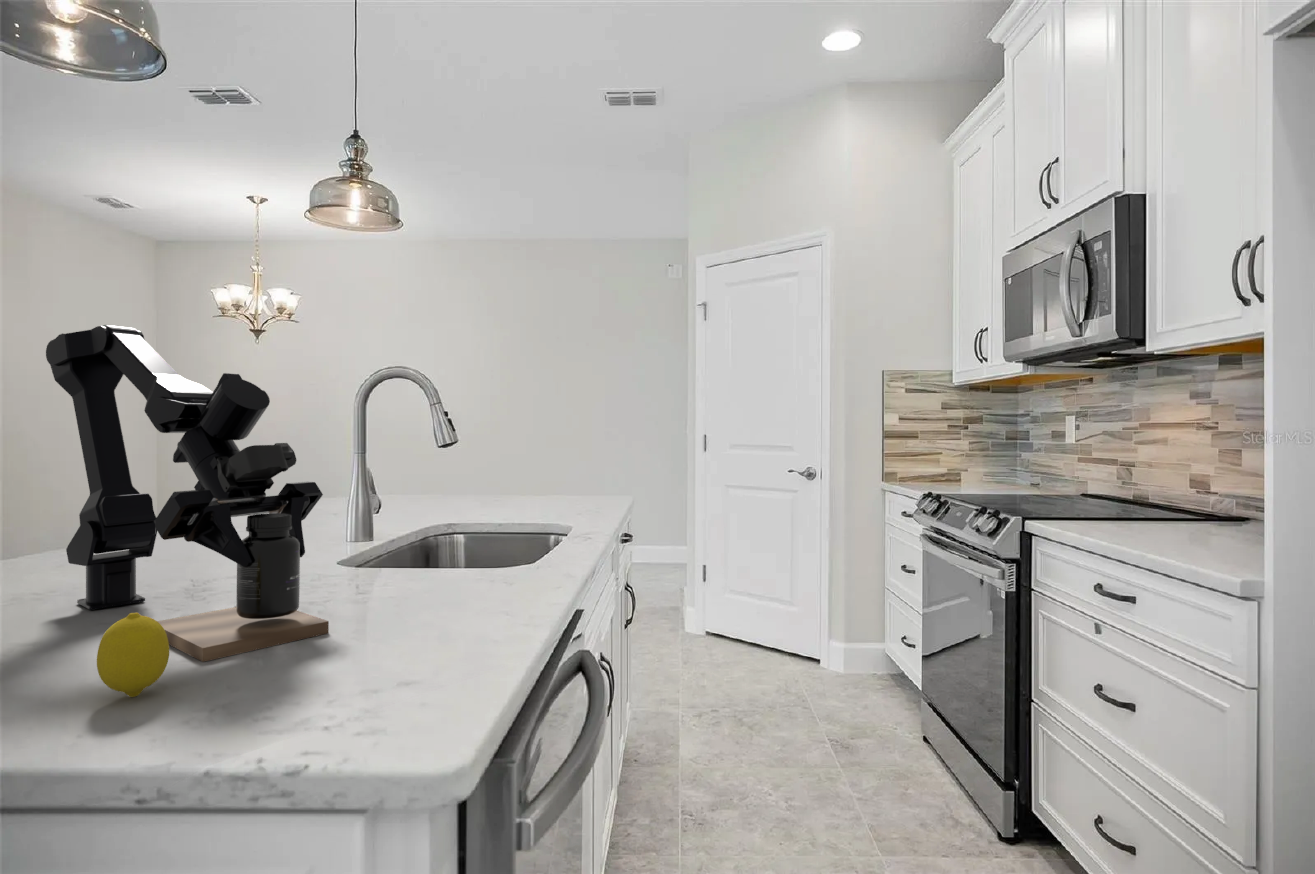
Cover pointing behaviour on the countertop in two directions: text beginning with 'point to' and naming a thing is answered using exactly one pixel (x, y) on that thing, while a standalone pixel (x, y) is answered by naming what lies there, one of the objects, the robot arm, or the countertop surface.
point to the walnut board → (237, 632)
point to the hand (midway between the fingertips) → (276, 560)
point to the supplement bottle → (269, 569)
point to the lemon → (132, 654)
